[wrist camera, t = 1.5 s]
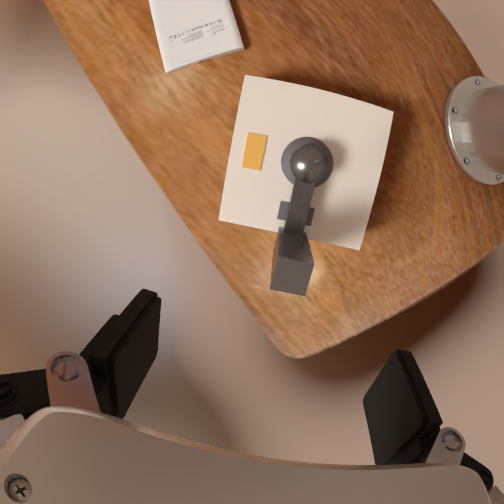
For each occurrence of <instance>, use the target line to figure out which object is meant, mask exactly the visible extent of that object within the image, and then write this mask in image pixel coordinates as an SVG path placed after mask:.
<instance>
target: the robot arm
mask: <svg viewBox="0 0 504 504" xmlns="http://www.w3.org/2000/svg"><path fill="white" fill-rule="evenodd" d="M445 129H446V135H447V139H448V143H449V146H450V149H451V151H452V154H453V156H454V157H455V159H456V161H457V163H458V164H459V166H460V167H461V168H462V170H463V171H464V172H465V173H466V174H467V175H468V176H470V177H471V178H473V179H474V180H476V181H478V182H481V183H484V184H489V185H495V184H499V183H502V182H504V85H503V86H499V85H498V84H496V83H495V82H494V81H492V80H490V79H488V78H485V77H481V76H472V77H468V78H465V79H463V80H461V81H459V82H458V83H457V84H456V85H455V86H454V87H453V89H452V90H451V92H450V94H449V96H448V99H447V102H446V108H445ZM157 296H158V295H157V293H156V292H153V291H149V290H146V289H142V290H141V291H140V292H139V293H138V294H137V295H136V296H135V298H134V299H133V300H132V301H131V302H130V304H129V305H128V306H127V307H126V308H125V309H124V310H123V312H122V313H121V314H120V315H113V316H112V317H111V318H110V319H109V320H108V321H107V322H106V324H105V325H104V326H103V327H102V328H101V329H100V330H99V332H98V333H97V334H96V335H95V336H94V338H93V339H92V340H91V341H90V342H89V343H88V345H87V346H86V347H85V349H84V350H83V351H82V352H81V353H80V355H78V354H76V353H73V352H60V353H57V354H55V355H53V356H52V357H51V358H50V359H49V360H48V362H47V364H46V369H41V370H34V371H27V372H20V373H11V374H2V375H0V447H1V446H2V445H5V446H4V447H3V449H2V450H1V452H0V504H504V494H503V493H502V492H501V491H500V490H499V489H498V487H497V486H496V485H495V486H494V487H492V486H493V476H492V473H491V471H490V470H489V469H488V468H486V467H485V466H484V465H482V464H481V463H479V462H478V461H476V460H475V459H473V458H472V457H470V456H469V455H467V454H466V453H464V450H465V440H464V438H463V436H462V435H461V434H460V433H459V432H458V431H457V430H456V429H453V428H450V427H445V428H443V429H441V430H440V427H439V426H440V425H441V424H442V423H443V422H442V419H441V417H440V414H439V412H438V409H437V407H436V405H435V402H434V400H433V398H432V396H431V393H430V391H429V389H428V387H427V384H426V382H425V380H424V378H423V376H422V373H421V371H420V369H419V367H418V365H417V363H416V361H415V359H414V357H413V355H412V353H411V352H410V351H406V350H400V349H399V350H397V351H395V352H393V353H392V354H391V355H390V357H389V359H388V360H387V362H386V364H385V365H384V367H383V368H382V370H381V372H380V373H379V375H378V376H377V378H376V379H375V381H374V382H373V384H372V385H371V387H370V388H369V390H368V392H367V393H366V394H365V396H364V399H363V405H364V410H365V415H366V419H367V424H368V429H369V433H370V439H371V444H372V449H373V454H374V460H375V464H376V465H338V464H337V465H336V464H321V463H308V462H298V461H289V460H281V459H274V458H267V457H261V456H255V455H250V454H245V453H239V452H234V451H230V450H225V449H221V448H216V447H212V446H208V445H204V444H200V443H196V442H193V441H189V440H186V439H182V438H179V437H175V436H172V435H168V434H165V433H162V432H159V431H155V430H152V429H149V428H147V427H144V426H141V425H138V424H135V423H132V422H129V421H126V420H123V418H124V416H125V414H126V412H127V410H128V408H129V407H130V405H131V403H132V401H133V399H134V397H135V395H136V393H137V391H138V389H139V388H140V385H141V384H142V382H143V380H144V378H145V377H146V375H147V372H148V371H149V369H150V367H151V365H152V364H153V362H154V360H155V358H156V355H157V351H158V337H159V322H160V310H161V298H159V297H157ZM7 440H8V442H7Z"/></svg>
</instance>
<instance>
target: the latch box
mask: <svg viewBox="0 0 504 504" xmlns="http://www.w3.org/2000/svg"><path fill="white" fill-rule="evenodd" d="M393 113H394V112H393V111H390V110H387V109H385V108H382V107H379V106H376V105H373V104H370V103H366V102H363V101H360V100H357V99H353V98H350V97H347V96H343V95H339V94H336V93H332V92H328V91H324V90H320V89H316V88H312V87H307V86H303V85H298V84H294V83H289V82H284V81H278V80H273V79H267V78H261V77H255V76H248V75H245V78H244V83H243V88H242V93H241V97H240V102H239V107H238V113H237V118H236V123H235V128H234V133H233V139H232V144H231V150H230V155H229V161H228V166H227V172H226V178H225V184H224V190H223V196H222V202H221V208H220V214H219V220H220V221H225V222H230V223H235V224H240V225H245V226H250V227H255V228H259V229H264V230H269V231H274V232H278V229H279V226H280V227H284V223H285V219H286V215H287V210H288V206H289V201H290V197H291V192H292V188H293V183H294V179H295V176H294V175H293V173H292V171H291V169H290V157H291V155H292V153H293V152H294V150H295V149H297V148H298V147H300V146H304V145H312V146H316V147H318V148H320V149H321V150H322V151H323V152H324V153H325V154H326V156H327V158H328V163H329V167H328V171H327V173H326V175H325V176H324V178H323V179H321V180H320V181H318V182H316V183H315V186H314V191H313V195H312V199H311V203H310V208H309V212H308V216H307V220H306V224H305V228H304V232H306V233H307V237H308V239H311V240H315V241H320V242H324V243H329V244H333V245H338V246H342V247H346V248H351V249H355V250H360V246H361V243H362V240H363V237H364V233H365V230H366V227H367V223H368V220H369V216H370V213H371V209H372V205H373V202H374V198H375V194H376V190H377V187H378V183H379V179H380V174H381V170H382V166H383V162H384V157H385V153H386V148H387V144H388V139H389V134H390V129H391V124H392V119H393Z"/></svg>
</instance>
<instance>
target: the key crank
mask: <svg viewBox="0 0 504 504" xmlns="http://www.w3.org/2000/svg"><path fill="white" fill-rule="evenodd" d="M328 167H329V163H328V158H327V156H326V154H325V153H324V152H323V151H322V150H321V149H320V148H318V147H316V146H312V145H304V146H300V147H298V148H297V149H295V150H294V152H293V153H292V155H291V157H290V169H291V171H292V173H293V175H294V176H295V179H294V183H293V188H292V192H291V197H290V201H289V206H288V210H287V215H286V219H285V223H284V227H280V226H279V229H278V233H277V238H276V242H275V247H274V251H273V261H272V272H271V283H270V289H272V290H277V291H282V292H287V293H292V294H297V295H302V296H305V294H306V290H307V287H308V284H309V280H310V277H311V273H312V270H313V267H314V261H313V257H312V253H311V249H310V245H309V241H308V237H307V233H306V232H304V228H305V224H306V220H307V216H308V212H309V208H310V203H311V199H312V195H313V191H314V186H315V183H316V182H318V181H320V180H321V179H323V178H324V176H325V175H326V173H327V171H328Z"/></svg>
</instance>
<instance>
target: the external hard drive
mask: <svg viewBox="0 0 504 504" xmlns="http://www.w3.org/2000/svg"><path fill="white" fill-rule="evenodd" d="M149 3H150V8H151V13H152V17H153V21H154V26H155V30H156V35H157V39H158V43H159V48H160V52H161V56H162V60H163V64H164V68H165V72H166V74H171V73H173V72H176V71H179V70H181V69H184V68H187V67H190V66H192V65H195V64H198V63H199V62H202V61H205V60H208V59H214V58H217V57H221V56H224V55H228V54H231V53H235V52H238V51H242V50H245V48H244V45H243V42H242V38H241V35H240V32H239V29H238V25H237V22H236V19H235V16H234V13H233V10H232V7H231V4H230V1H229V0H149Z"/></svg>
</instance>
